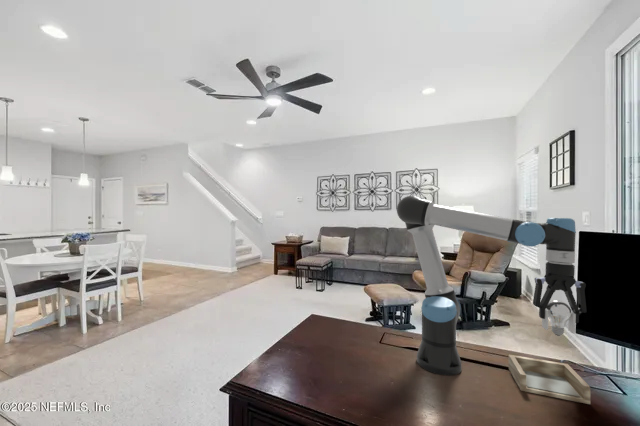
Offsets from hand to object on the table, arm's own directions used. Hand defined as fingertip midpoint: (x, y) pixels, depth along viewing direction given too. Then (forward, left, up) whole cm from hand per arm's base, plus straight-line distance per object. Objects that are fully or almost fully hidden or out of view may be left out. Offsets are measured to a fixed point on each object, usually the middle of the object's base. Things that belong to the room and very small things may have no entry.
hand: (558, 329), depth 94 cm
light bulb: (0, 0, -2) cm, 2 cm away
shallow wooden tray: (-6, -7, -16) cm, 18 cm away
